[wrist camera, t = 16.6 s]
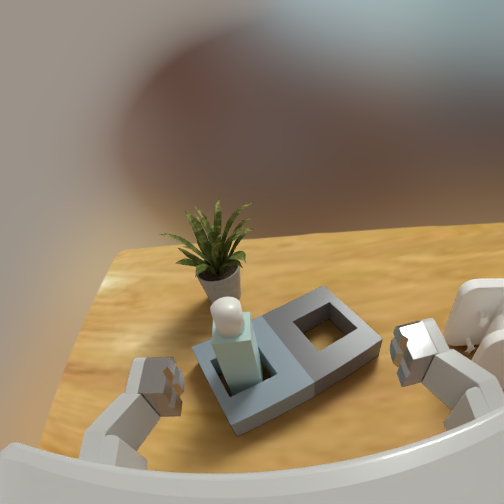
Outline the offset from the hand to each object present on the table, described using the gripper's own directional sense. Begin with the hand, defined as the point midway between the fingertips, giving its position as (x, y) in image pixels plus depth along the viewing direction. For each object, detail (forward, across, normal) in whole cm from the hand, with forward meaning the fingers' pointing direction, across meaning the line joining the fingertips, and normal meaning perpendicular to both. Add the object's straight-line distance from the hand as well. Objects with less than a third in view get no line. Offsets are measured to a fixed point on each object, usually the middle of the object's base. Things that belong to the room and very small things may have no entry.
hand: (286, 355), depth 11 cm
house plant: (+32, +7, +26) cm, 42 cm away
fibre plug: (+15, +5, +26) cm, 31 cm away
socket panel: (+18, 0, +26) cm, 31 cm away
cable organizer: (+10, -28, +26) cm, 40 cm away
